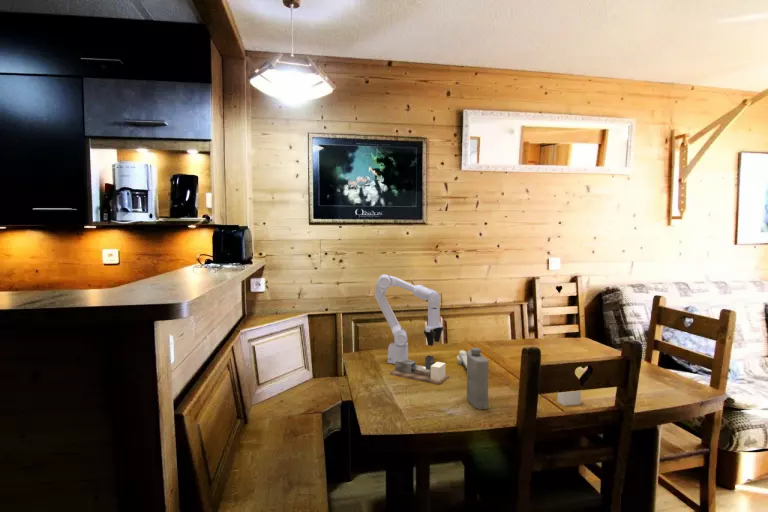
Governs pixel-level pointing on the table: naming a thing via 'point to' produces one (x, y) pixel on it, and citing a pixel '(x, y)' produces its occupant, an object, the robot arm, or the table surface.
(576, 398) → the light grey block
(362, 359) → the table surface
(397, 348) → the robot arm
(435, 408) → the table surface
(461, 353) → the toothbrush head
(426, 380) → the track base
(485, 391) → the flask
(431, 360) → the dark grey angular piece
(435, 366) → the socket block
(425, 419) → the table surface
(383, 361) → the table surface
